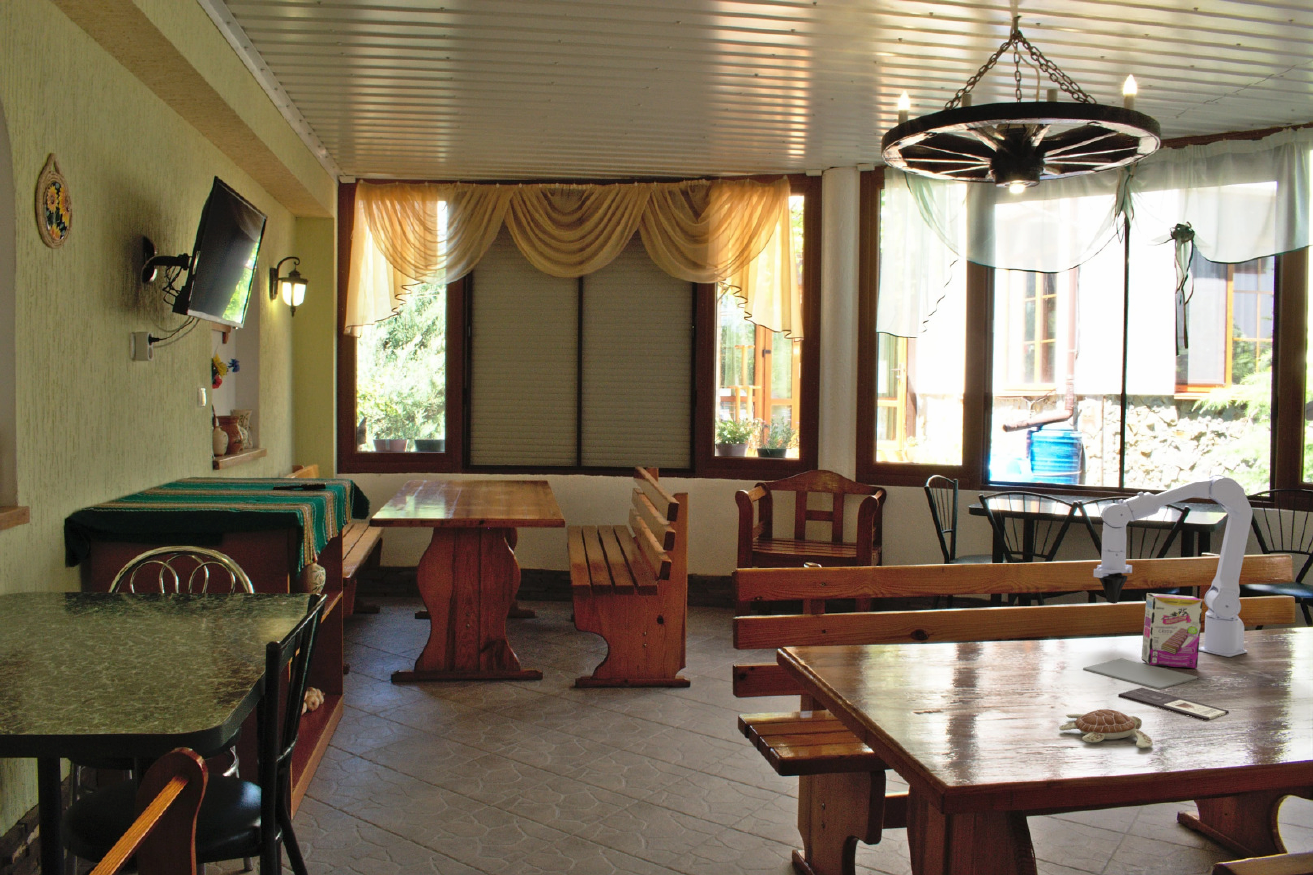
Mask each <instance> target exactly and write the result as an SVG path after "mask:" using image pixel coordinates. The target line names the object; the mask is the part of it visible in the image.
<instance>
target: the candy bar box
mask: <svg viewBox="0 0 1313 875" xmlns="http://www.w3.org/2000/svg"><path fill="white" fill-rule="evenodd" d="M1202 611H1203V600H1202V599H1200V598H1198V597H1195V596H1192V595H1191V596H1190V595H1176V594H1164V593H1152V592H1150V593H1148V592H1146V597H1145V608H1144V619H1143V620H1144V622H1143V633H1142V634H1143V635H1142V636H1143V637H1142V648H1141V649H1142V650H1141V661H1142V662H1144V664H1147V665H1151V666H1158V667H1159V666H1160V667H1161V666H1162V667H1171V668H1173V667H1175V668H1186V669H1187V668H1190V669H1198V663H1199V647H1200V638H1201V623H1202Z"/></svg>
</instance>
